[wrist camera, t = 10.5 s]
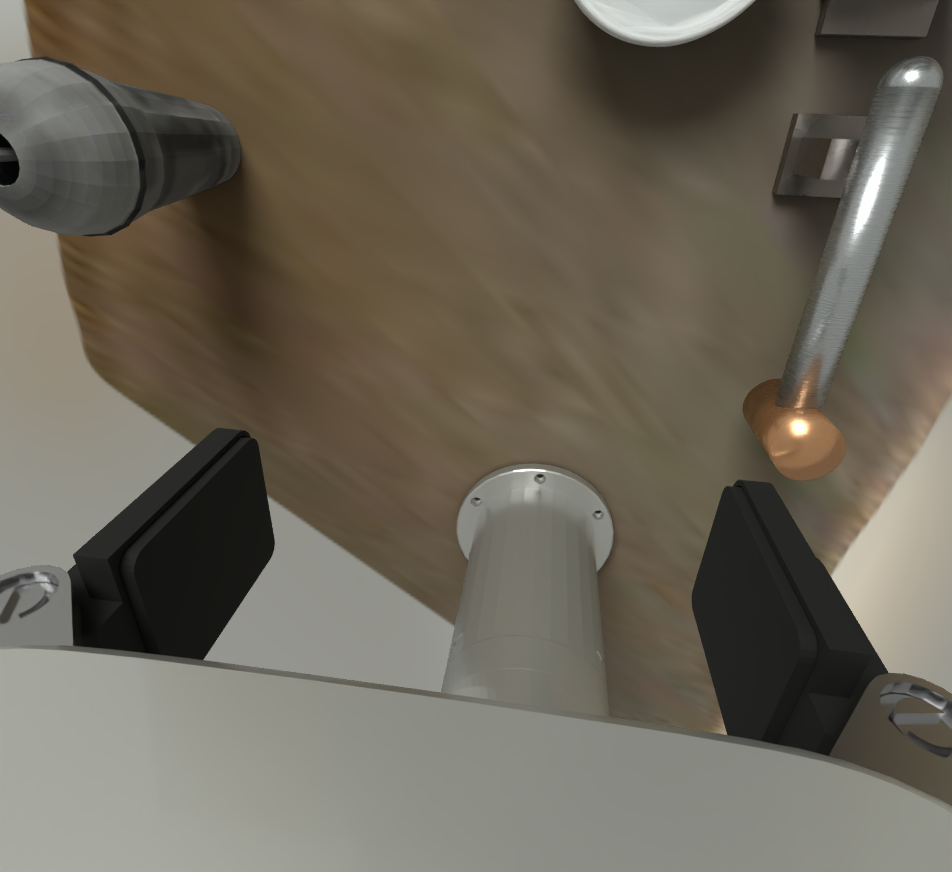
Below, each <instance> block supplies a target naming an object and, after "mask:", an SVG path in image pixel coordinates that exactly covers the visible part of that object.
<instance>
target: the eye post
mask: <svg viewBox="0 0 952 872" xmlns="http://www.w3.org/2000/svg"><path fill="white" fill-rule="evenodd" d="M938 2H939V0H824V3H823V7H822V10H821V14H820V18H819V21H818V25H817V29H816V32H815V36H834V37H869V38H904V39H919V38H923V37H926V36H927V33H928V31H929V28H930V25H931V22H932V19H933V16H934V13H935V11H936V8H937V5H938Z"/></svg>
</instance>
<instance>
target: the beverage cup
mask: <svg viewBox="0 0 952 872" xmlns="http://www.w3.org/2000/svg"><path fill="white" fill-rule="evenodd" d="M240 160H241V147H240V143H239V139H238V135H237V133H236V131H235V130H234V128H233V126H232V124H231V123H230V121H229V120H228V119H227V118H226V117H225V116H224V115H223V114H222V113H221V112H219V111H218V110H216V109H215V108H213V107H212V106H208V105H204V104H201V103H199V102H196V101H192V100H189V99H185V98H181V97H176V96H172V95H168V94H164V93H159V92H155V91H151V90H146V89H142V88H138V87H134V86H129V85H125V84H121V83H117V82H112V81H108V80H107V79H105V78H104V77H101V76H99V75H96V74H94V73H91V72H89V71H86V70H83V69H80V68H78V67H77V66H75V65H74V64H72V63H68V62H65V61H61V60H57V59H54V58H50V57H46V56H45V57H37V58H29V59H22V60H19V61H15V62H7V63H2V64H0V208H1V209H2V210H4V211H6V212H7V213H9V214H11V215H12V216H14V217H16V218H17V219H19V220H21V221H23V222H25V223H27V224H29V225H31V226H34V227H38V228H41V229H45V230H48V231H52V232H56V233H59V234H63V235H83V236H103V235H112V234H114V233H116V232H118V231H120V230H122V229H124V228H126V227H127V226H129V225H130V224H131V222H132V221H134V220H136V219H138V218H140V217H141V216H143V215H144V214H146V213H148V212H149V211H151V210H154V209H157V208H160V207H162V206H165V205H168V204H170V203H173V202H176V201H178V200H181V199H184V198H187V197H189V196H192V195H195V194H197V193H200V192H203V191H205V190H208V189H211V188H213V187H215V186H216V185H218V184H220V183H223V182H225V181H227V180H229V179H231V177H232V176H233V175H234V174H235V173H236V171H237V169H238V166H239V163H240Z"/></svg>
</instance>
